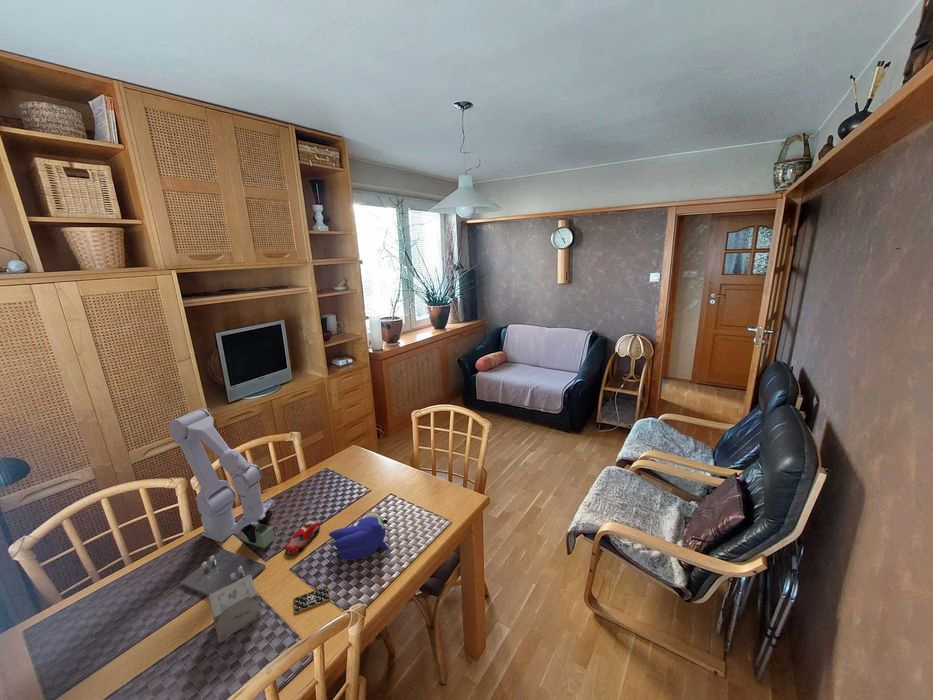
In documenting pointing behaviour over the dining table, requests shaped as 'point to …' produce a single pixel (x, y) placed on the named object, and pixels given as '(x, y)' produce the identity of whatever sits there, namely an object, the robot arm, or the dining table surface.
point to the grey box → (234, 607)
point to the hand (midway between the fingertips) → (258, 536)
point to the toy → (360, 538)
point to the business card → (311, 599)
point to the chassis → (221, 572)
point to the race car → (302, 537)
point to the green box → (261, 535)
